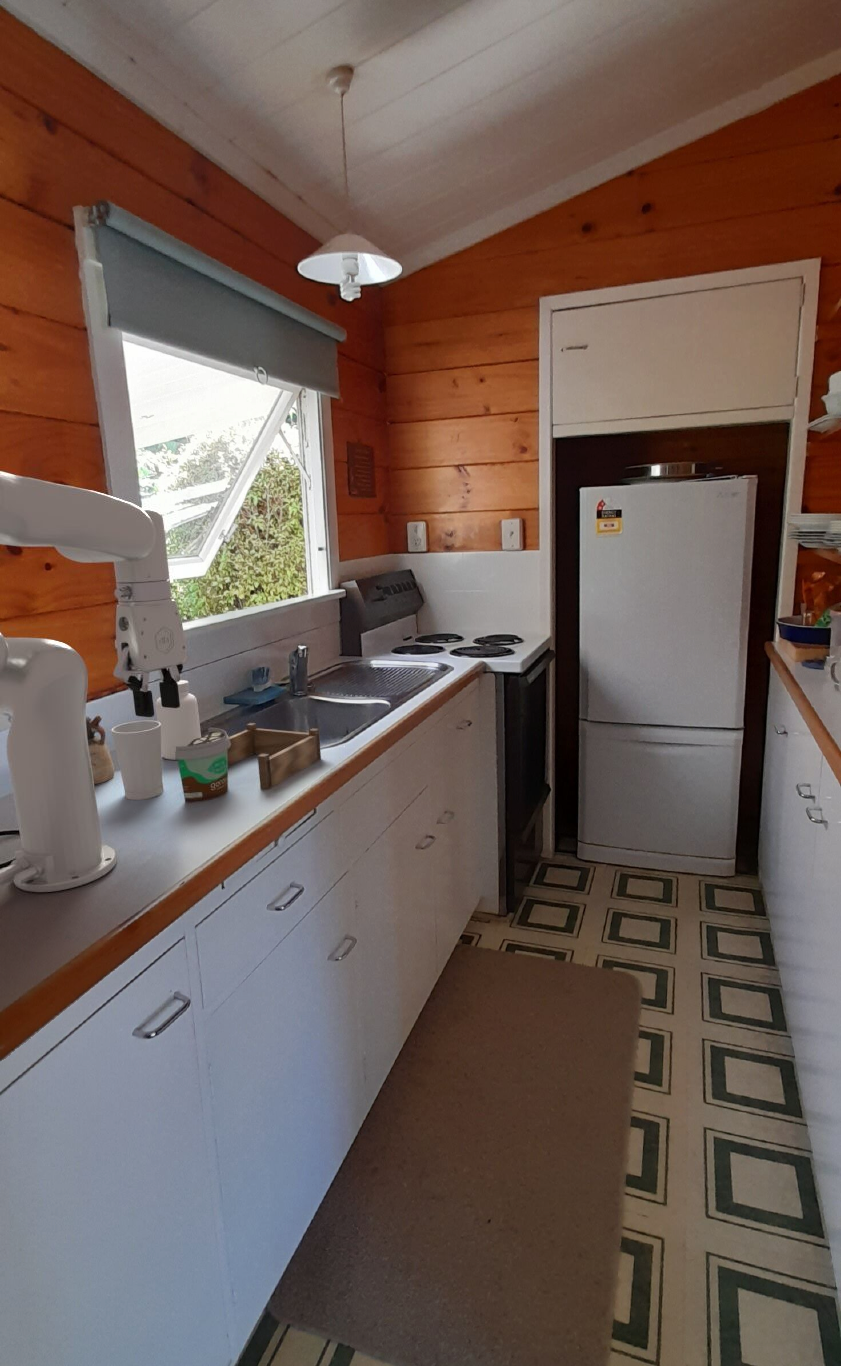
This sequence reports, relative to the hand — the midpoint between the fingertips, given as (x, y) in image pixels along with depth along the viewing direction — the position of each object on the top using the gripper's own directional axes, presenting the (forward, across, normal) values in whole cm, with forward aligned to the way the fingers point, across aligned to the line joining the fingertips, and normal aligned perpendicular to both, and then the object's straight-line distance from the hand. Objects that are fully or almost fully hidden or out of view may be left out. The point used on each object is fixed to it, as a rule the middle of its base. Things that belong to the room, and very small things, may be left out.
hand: (158, 710), depth 114 cm
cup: (+18, +7, +12) cm, 22 cm away
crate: (+17, +24, 0) cm, 30 cm away
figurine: (+18, +10, +27) cm, 34 cm away
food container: (+18, +11, 0) cm, 21 cm away
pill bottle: (+18, +27, +21) cm, 38 cm away
